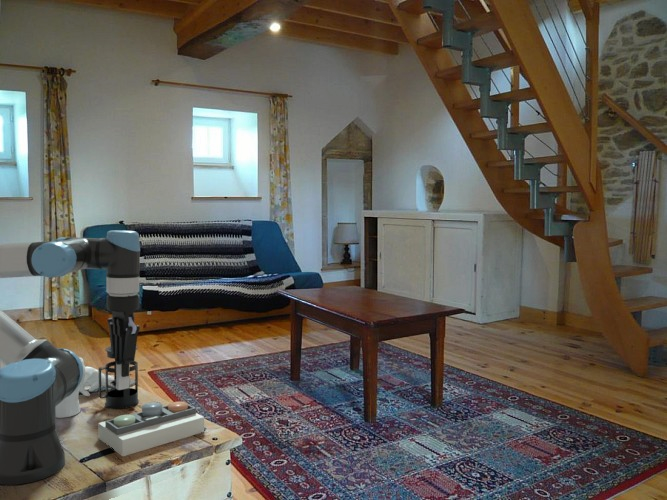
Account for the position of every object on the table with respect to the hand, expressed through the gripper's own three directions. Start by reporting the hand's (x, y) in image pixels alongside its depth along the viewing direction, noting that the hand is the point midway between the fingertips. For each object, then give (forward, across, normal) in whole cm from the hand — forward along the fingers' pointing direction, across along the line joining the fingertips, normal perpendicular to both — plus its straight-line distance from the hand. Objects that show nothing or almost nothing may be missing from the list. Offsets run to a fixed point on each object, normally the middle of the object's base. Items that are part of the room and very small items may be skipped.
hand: (122, 388), depth 139 cm
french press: (+14, +27, -11) cm, 33 cm away
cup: (+14, +30, +3) cm, 33 cm away
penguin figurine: (+15, +42, -10) cm, 46 cm away
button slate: (+8, 0, -8) cm, 11 cm away
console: (+14, 0, -8) cm, 16 cm away
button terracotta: (+10, 0, -15) cm, 18 cm away
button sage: (+10, 0, 0) cm, 10 cm away
